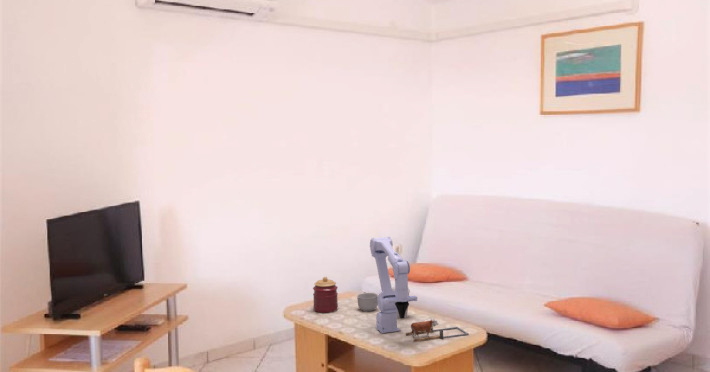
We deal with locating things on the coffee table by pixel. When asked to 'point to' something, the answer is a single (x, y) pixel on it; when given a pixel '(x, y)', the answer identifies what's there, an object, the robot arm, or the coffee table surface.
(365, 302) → the teacup
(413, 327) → the bull figurine
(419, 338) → the pair of brown bars
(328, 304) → the canister
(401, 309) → the robot arm
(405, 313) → the coffee cup
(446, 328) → the frame
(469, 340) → the coffee table surface
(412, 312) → the coffee table surface
